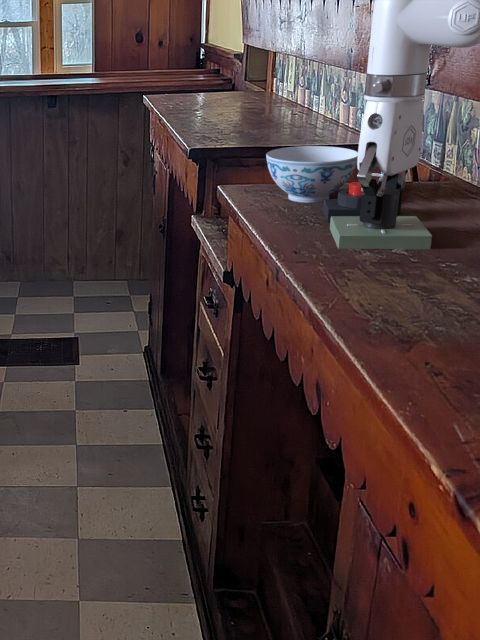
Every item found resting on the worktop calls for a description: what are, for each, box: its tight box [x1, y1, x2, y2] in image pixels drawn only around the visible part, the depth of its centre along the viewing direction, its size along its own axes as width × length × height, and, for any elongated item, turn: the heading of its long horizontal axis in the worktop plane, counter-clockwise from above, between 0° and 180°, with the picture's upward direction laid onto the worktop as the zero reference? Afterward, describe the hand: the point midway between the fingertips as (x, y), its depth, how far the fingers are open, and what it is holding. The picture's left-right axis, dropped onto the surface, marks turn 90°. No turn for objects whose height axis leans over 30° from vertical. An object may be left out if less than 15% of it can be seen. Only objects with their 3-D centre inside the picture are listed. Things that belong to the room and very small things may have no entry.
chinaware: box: [265, 145, 358, 204], centre depth 149 cm, size 15×15×8 cm
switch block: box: [322, 188, 362, 224], centre depth 136 cm, size 10×7×4 cm
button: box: [348, 181, 362, 196], centre depth 135 cm, size 4×4×2 cm
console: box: [329, 215, 433, 250], centre depth 125 cm, size 12×11×2 cm
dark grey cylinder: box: [363, 188, 400, 229], centre depth 124 cm, size 4×4×5 cm
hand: (379, 217), depth 124 cm, fingers closed on dark grey cylinder, 4 cm apart
